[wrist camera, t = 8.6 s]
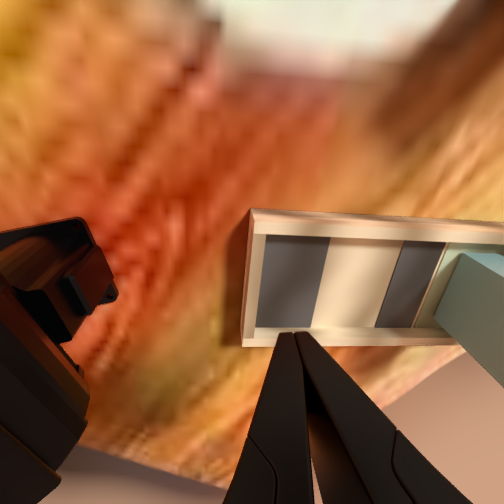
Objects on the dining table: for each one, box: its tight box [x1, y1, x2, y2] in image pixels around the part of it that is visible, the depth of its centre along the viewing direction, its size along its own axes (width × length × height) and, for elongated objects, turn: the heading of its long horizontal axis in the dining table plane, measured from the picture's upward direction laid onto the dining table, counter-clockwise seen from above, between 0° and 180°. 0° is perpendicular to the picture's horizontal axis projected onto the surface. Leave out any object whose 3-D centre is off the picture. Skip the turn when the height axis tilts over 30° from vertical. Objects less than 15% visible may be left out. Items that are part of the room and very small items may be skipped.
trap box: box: [240, 208, 504, 347], centre depth 22 cm, size 20×10×2 cm, turn 85°
